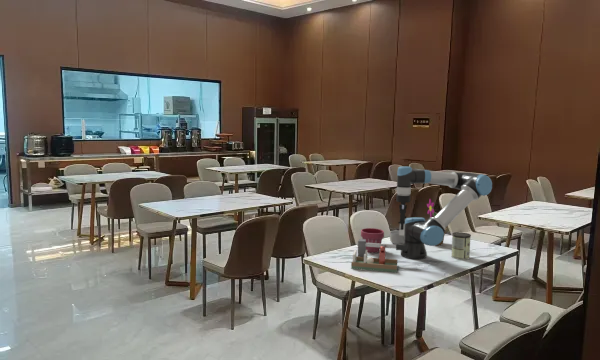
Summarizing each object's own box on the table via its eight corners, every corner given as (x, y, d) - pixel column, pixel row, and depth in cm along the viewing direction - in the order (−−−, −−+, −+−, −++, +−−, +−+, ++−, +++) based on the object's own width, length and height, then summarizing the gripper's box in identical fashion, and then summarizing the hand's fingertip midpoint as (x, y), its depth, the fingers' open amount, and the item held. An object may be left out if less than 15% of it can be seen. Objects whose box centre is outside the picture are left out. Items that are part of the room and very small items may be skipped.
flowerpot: (420, 241, 303) (422, 197, 299) (440, 240, 304) (442, 197, 301) (428, 246, 288) (430, 200, 285) (449, 246, 290) (452, 200, 286)
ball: (373, 263, 246) (374, 256, 246) (373, 265, 242) (373, 258, 242) (366, 262, 247) (366, 255, 247) (366, 264, 243) (366, 257, 243)
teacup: (406, 246, 289) (406, 234, 288) (389, 245, 291) (389, 233, 290) (405, 240, 303) (406, 229, 302) (389, 239, 305) (389, 228, 304)
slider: (406, 260, 250) (407, 243, 249) (406, 267, 238) (407, 249, 237) (357, 256, 257) (357, 239, 256) (354, 263, 244) (355, 245, 243)
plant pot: (386, 253, 271) (386, 233, 269) (363, 254, 270) (363, 233, 268) (380, 247, 285) (380, 227, 283) (358, 247, 284) (358, 228, 282)
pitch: (397, 262, 253) (398, 241, 251) (396, 272, 236) (397, 249, 234) (354, 259, 258) (355, 238, 257) (351, 268, 241) (351, 246, 240)
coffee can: (452, 254, 272) (453, 231, 270) (470, 256, 268) (471, 233, 266) (450, 258, 263) (451, 235, 261) (468, 260, 258) (470, 236, 257)
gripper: (397, 191, 258) (395, 227, 261) (395, 197, 234) (394, 237, 237) (410, 191, 256) (408, 228, 259) (410, 198, 232) (408, 238, 235)
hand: (401, 232), depth 248 cm, fingers open, 13 cm apart
